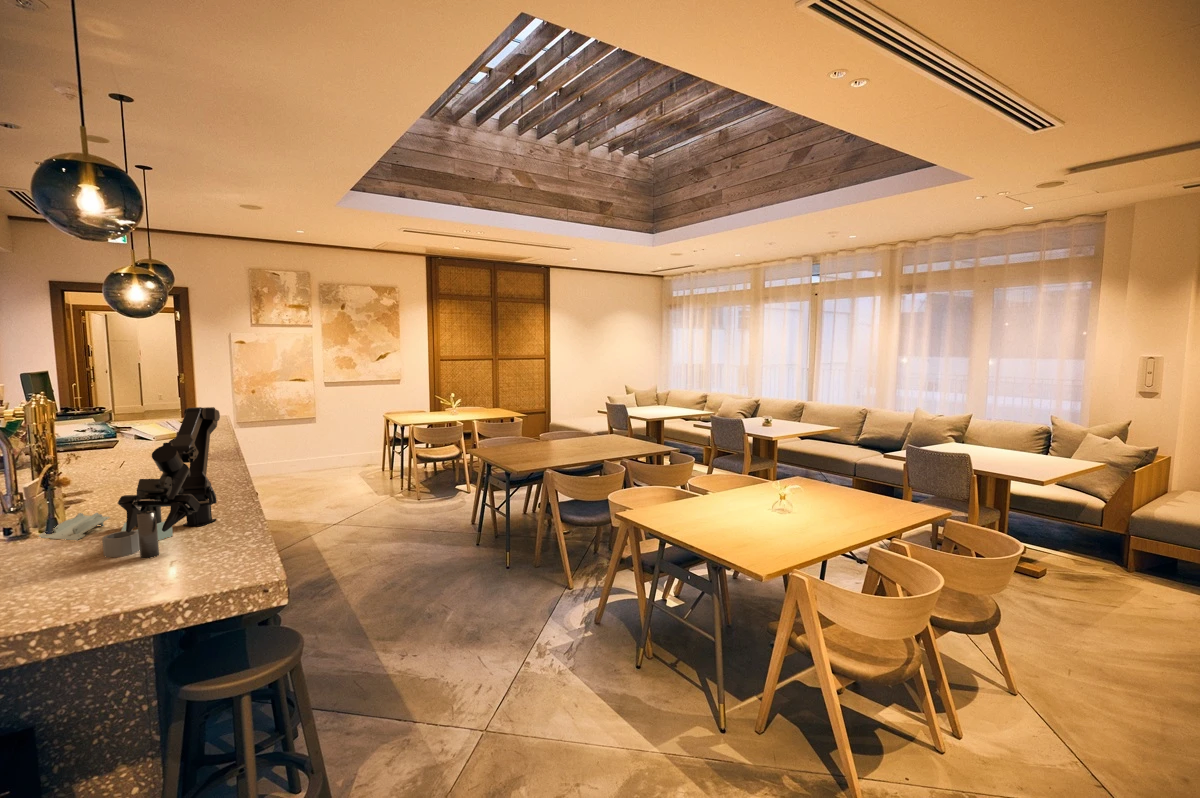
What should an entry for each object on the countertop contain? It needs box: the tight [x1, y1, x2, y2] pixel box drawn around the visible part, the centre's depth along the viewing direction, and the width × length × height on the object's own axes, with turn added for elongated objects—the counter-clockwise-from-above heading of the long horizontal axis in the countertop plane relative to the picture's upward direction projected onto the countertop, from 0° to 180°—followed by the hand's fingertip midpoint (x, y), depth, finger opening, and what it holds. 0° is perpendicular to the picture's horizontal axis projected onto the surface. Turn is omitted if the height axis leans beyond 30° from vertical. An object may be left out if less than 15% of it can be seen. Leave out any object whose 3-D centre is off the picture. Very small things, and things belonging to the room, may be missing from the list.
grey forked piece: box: [101, 520, 174, 558], centre depth 161 cm, size 18×13×5 cm
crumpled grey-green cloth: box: [37, 512, 111, 541], centre depth 173 cm, size 14×6×15 cm
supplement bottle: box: [134, 490, 163, 529], centre depth 180 cm, size 7×7×12 cm
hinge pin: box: [137, 511, 160, 559], centre depth 153 cm, size 4×4×12 cm
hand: (145, 531), depth 152 cm, fingers open, 9 cm apart
